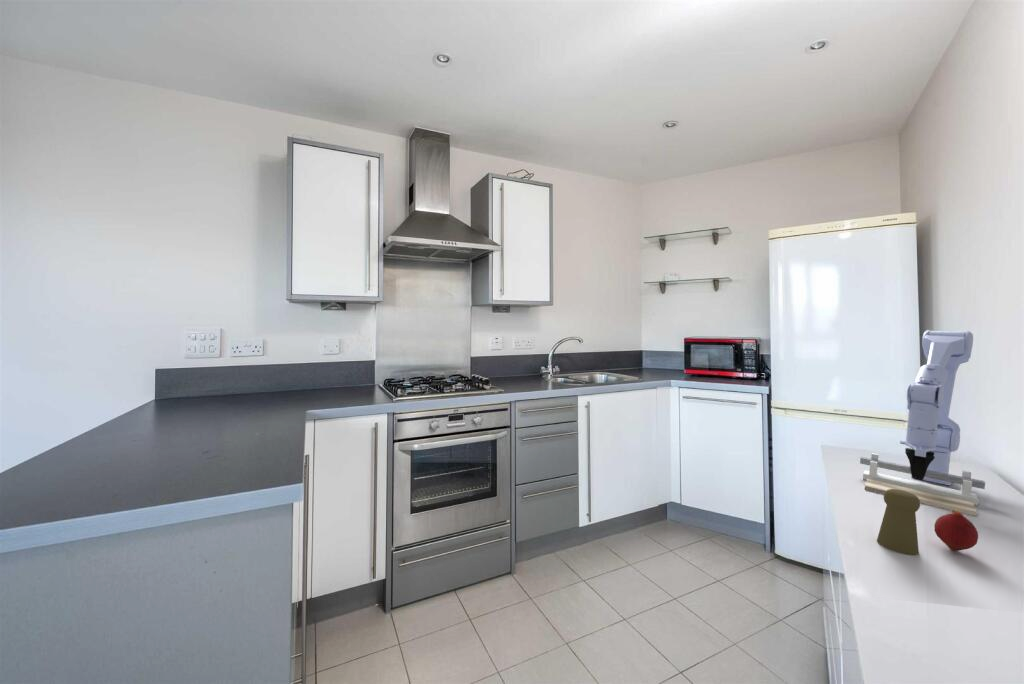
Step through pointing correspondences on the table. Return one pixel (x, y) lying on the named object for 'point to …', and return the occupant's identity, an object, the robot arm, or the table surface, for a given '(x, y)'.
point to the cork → (900, 522)
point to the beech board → (925, 497)
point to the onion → (956, 531)
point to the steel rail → (928, 474)
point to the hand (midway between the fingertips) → (917, 477)
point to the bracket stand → (963, 494)
